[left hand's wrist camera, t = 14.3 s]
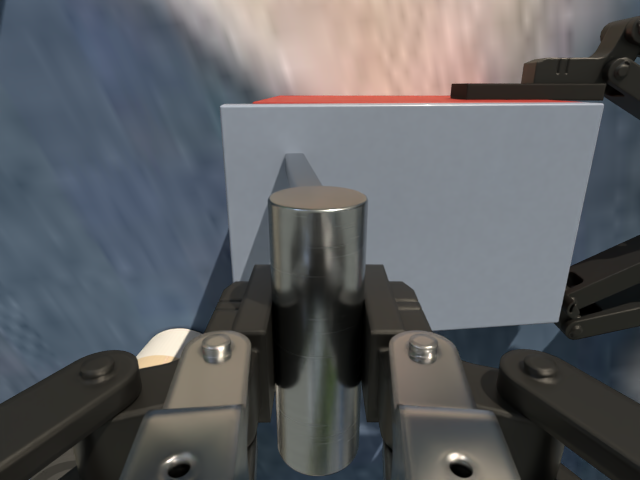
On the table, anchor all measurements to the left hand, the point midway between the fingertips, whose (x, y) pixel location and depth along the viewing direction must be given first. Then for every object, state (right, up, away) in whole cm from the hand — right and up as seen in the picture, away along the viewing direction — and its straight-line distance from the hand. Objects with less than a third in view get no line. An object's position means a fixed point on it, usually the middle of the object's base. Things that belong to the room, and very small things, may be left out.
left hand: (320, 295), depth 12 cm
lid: (+4, +2, +6) cm, 8 cm away
